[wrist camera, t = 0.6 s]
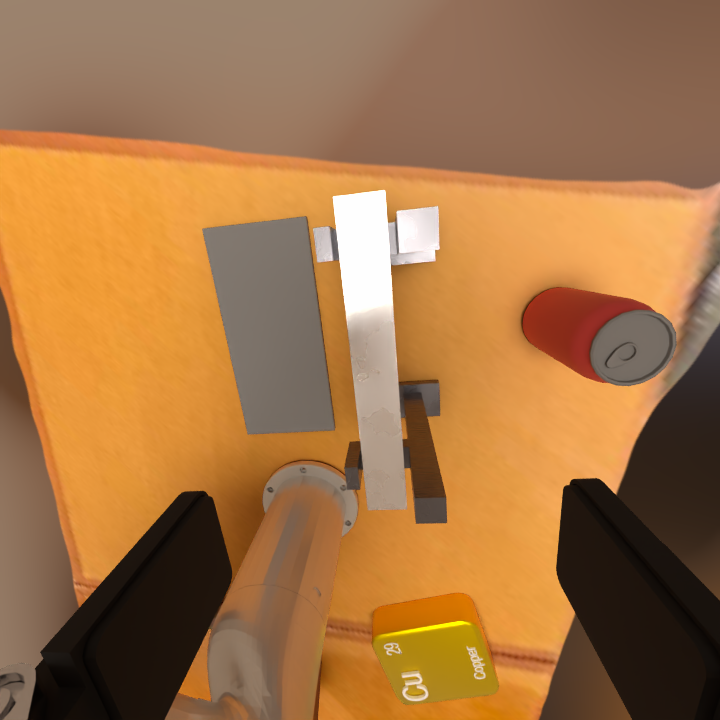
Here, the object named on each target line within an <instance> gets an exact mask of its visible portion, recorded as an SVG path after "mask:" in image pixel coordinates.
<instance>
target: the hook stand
mask: <svg viewBox="0 0 720 720" xmlns="http://www.w3.org/2000/svg"><path fill="white" fill-rule="evenodd" d="M387 226H388V240H389V255H390V265H400V264H410V263H420V262H430V261H435V250H439V215H438V206H436V207H427V208H419V209H410V210H402V211H397V213H396V219H395V222H391V223H387ZM313 232H314V240H315V247H316V255H317V262H326V261H336V260H340V256H339V247H338V238H337V229H334V228H332V227H330V226H327V227H319V228H313ZM398 384H399V399H400V413H401V418H404V417H405V421H406V431H407V439H402V442H403V456H404V468H410V470H411V480H412V490H413V500H414V509H415V519H416V524H419V523H447V507H446V494H445V490H444V486H443V482H442V478H441V473H440V469H439V465H438V461H437V457H436V452H435V448H434V444H433V440H432V436H431V431H430V427H429V423H428V419H427V416H440V395H439V381H438V380H427V381H411V382H398ZM344 469H345V477H346V484H347V490H360V486H361V478H362V470H363V462H362V453H361V444H360V441H355V442H350V443H349V448H348V453H347V457H346V462H345V467H344Z"/></svg>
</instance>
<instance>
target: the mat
mask: <svg viewBox="0 0 720 720" xmlns="http://www.w3.org/2000/svg"><path fill="white" fill-rule="evenodd" d="M202 230H203V235H204V239H205V244H206V248H207V253H208V257H209V262H210V266H211V271H212V275H213V280H214V284H215V289H216V293H217V298H218V302H219V307H220V311H221V316H222V320H223V325H224V329H225V334H226V338H227V343H228V347H229V352H230V356H231V361H232V365H233V370H234V374H235V379H236V383H237V388H238V392H239V397H240V401H241V406H242V410H243V415H244V419H245V424H246V428H247V433H248V434H267V433H288V432H309V431H330V430H335V422H334V414H333V407H332V400H331V392H330V385H329V377H328V370H327V362H326V355H325V348H324V340H323V333H322V325H321V318H320V310H319V303H318V296H317V288H316V281H315V273H314V266H313V258H312V251H311V244H310V236H309V229H308V221H307V217H297V218H289V219H281V220H272V221H264V222H255V223H247V224H239V225H230V226H222V227H214V228H205V229H202Z"/></svg>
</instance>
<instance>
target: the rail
mask: <svg viewBox="0 0 720 720" xmlns="http://www.w3.org/2000/svg"><path fill="white" fill-rule="evenodd" d="M333 202H334V211H335V220H336V229H337V238H338V247H339V256H340V265H341V274H342V283H343V292H344V301H345V310H346V318H347V327H348V336H349V345H350V354H351V363H352V372H353V381H354V390H355V399H356V408H357V417H358V426H359V435H360V444H361V453H362V462H363V471H364V480H365V489H366V498H367V507H368V510H396V509H407V500H406V485H405V471H404V456H403V442H402V428H401V413H400V399H399V384H398V370H397V356H396V341H395V327H394V312H393V298H392V284H391V269H390V255H389V240H388V226H387V212H386V197H385V190H383V191H375V192H367V193H359V194H351V195H343V196H335V197H333Z"/></svg>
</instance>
